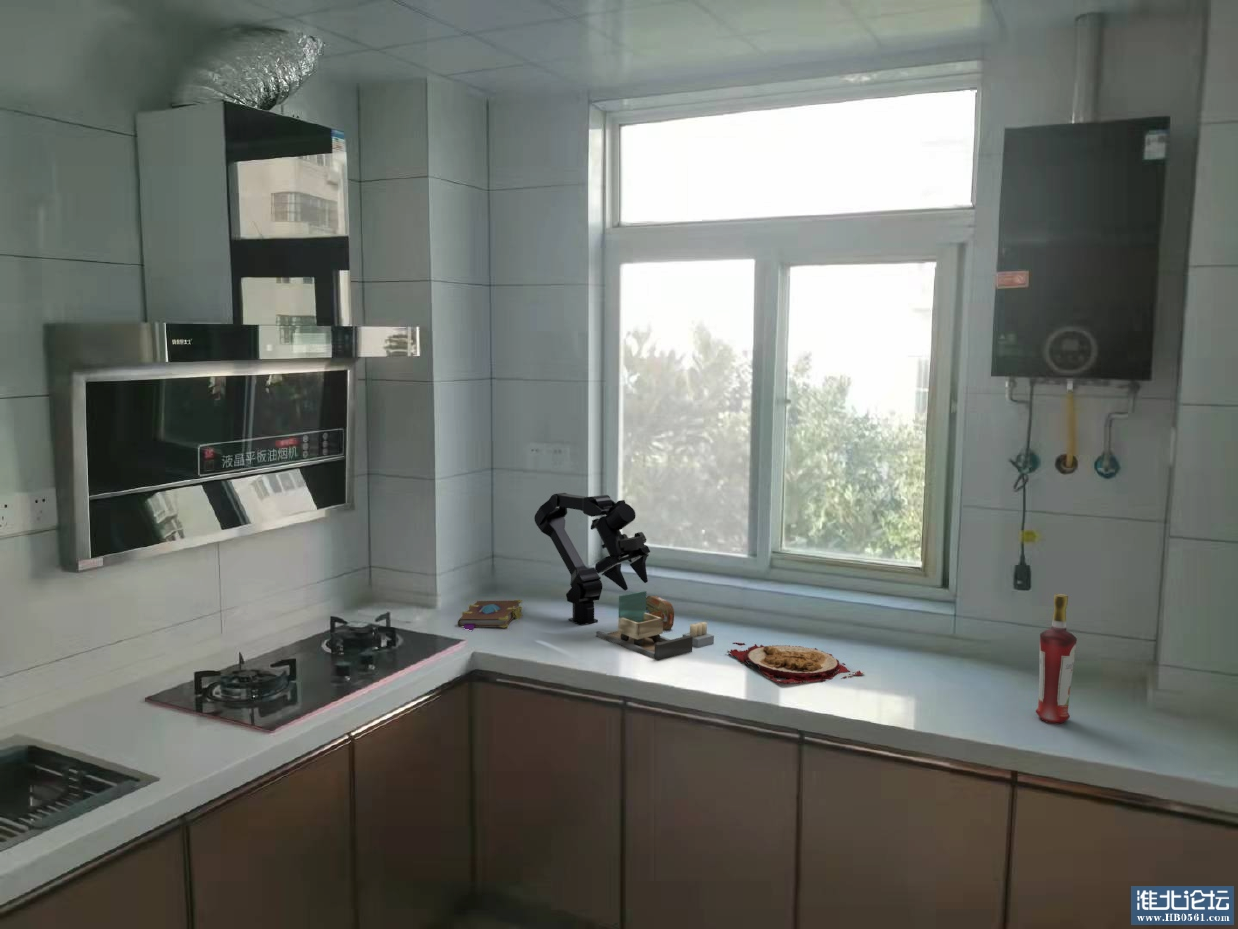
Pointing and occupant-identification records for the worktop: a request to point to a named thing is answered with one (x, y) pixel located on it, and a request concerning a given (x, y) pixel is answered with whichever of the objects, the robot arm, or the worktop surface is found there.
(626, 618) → the cart
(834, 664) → the plate with food
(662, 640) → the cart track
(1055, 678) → the liquor
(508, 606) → the book
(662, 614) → the tin
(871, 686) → the worktop surface
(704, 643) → the grey block with cylinders
